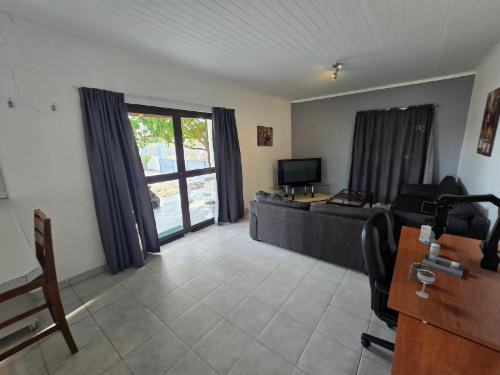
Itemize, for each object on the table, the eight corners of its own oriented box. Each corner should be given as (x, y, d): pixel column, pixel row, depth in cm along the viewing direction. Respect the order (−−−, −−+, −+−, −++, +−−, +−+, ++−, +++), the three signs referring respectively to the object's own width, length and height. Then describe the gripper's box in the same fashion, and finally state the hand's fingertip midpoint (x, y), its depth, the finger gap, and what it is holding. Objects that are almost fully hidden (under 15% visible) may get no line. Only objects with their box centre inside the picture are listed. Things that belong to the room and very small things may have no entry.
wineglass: (414, 287, 109) (418, 266, 106) (431, 293, 105) (435, 272, 102) (413, 295, 104) (417, 273, 101) (431, 301, 100) (436, 279, 97)
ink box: (435, 245, 148) (438, 230, 146) (427, 245, 148) (431, 230, 146) (425, 239, 157) (428, 224, 154) (418, 239, 157) (421, 225, 154)
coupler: (439, 254, 138) (441, 244, 136) (437, 257, 135) (440, 247, 133) (429, 251, 141) (431, 242, 139) (428, 254, 138) (430, 244, 136)
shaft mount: (463, 267, 124) (465, 259, 123) (461, 278, 115) (463, 269, 113) (426, 256, 136) (427, 248, 135) (421, 265, 127) (423, 257, 126)
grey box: (408, 279, 115) (411, 263, 112) (407, 276, 118) (410, 260, 115) (427, 284, 111) (430, 267, 109) (425, 280, 114) (429, 264, 112)
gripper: (428, 207, 143) (424, 229, 147) (422, 215, 131) (418, 238, 135) (450, 212, 135) (445, 234, 139) (446, 220, 123) (441, 244, 127)
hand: (437, 237), depth 135 cm, fingers open, 9 cm apart
